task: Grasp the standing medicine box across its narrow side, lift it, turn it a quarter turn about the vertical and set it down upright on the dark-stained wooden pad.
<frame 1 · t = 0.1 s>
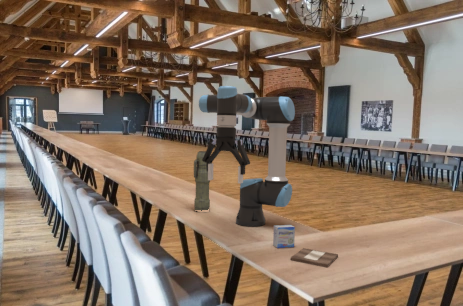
hand: (225, 181, 154), 28 cm above the table, fingers open, 13 cm apart
pad: (314, 258, 151), on the table
green robed figurine: (202, 211, 232), on the table
medicine box: (283, 246, 165), on the table
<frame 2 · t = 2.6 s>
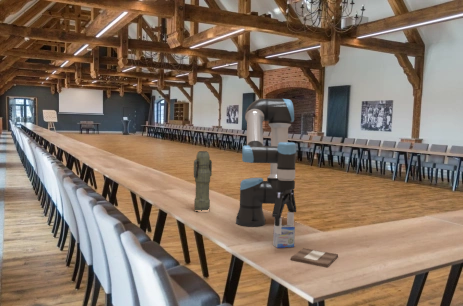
hand: (284, 230, 165), 7 cm above the table, fingers open, 13 cm apart
nothing on the table moved.
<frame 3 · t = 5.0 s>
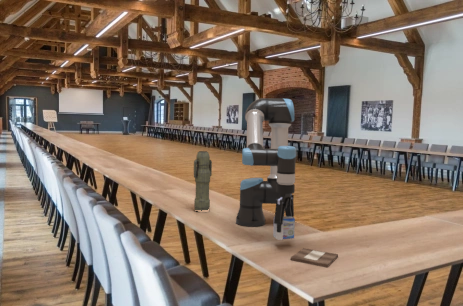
hand: (283, 236, 166), 4 cm above the table, fingers closed on medicine box, 8 cm apart
medicine box: (283, 238, 166), point 3 cm above the table, touching gripper
everything else where it was.
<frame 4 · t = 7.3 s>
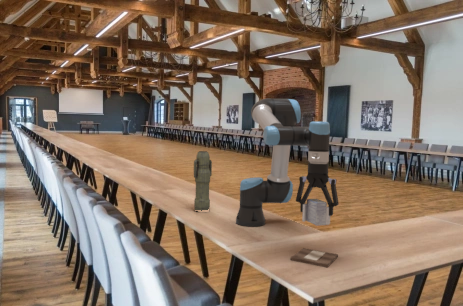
hand: (316, 222, 150), 14 cm above the table, fingers closed on medicine box, 8 cm apart
medicine box: (315, 223, 150), point 13 cm above the table, touching gripper
everything else where it was.
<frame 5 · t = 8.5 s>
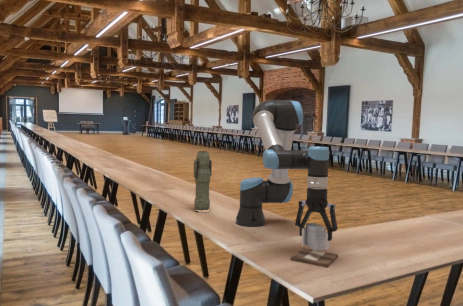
hand: (315, 246, 150), 5 cm above the table, fingers closed on medicine box, 8 cm apart
medicine box: (315, 248, 150), point 4 cm above the table, touching gripper
everything else where it was.
when the fingers open (3 cm above the table, at t = 9.6 s): medicine box drops 2 cm, resting on pad.
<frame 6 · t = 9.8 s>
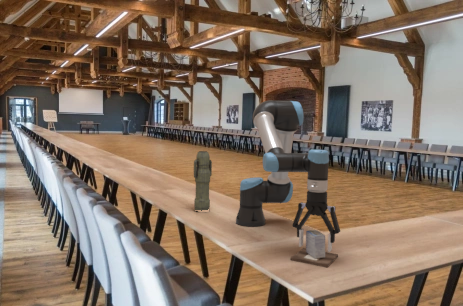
hand: (315, 248, 150), 4 cm above the table, fingers open, 10 cm apart
medicine box: (315, 255, 150), point 1 cm above the table, touching pad
everything else where it was.
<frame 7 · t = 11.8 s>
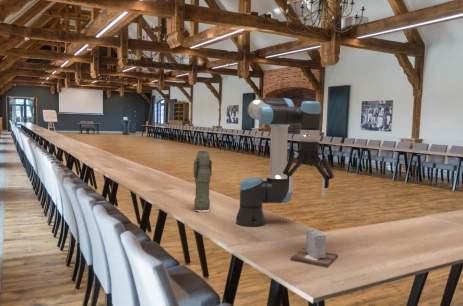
hand: (306, 194, 157), 23 cm above the table, fingers open, 13 cm apart
nothing on the table moved.
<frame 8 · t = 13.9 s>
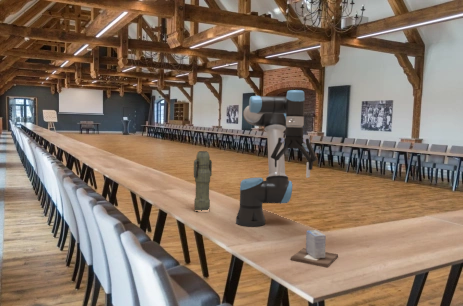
hand: (292, 176, 171), 29 cm above the table, fingers open, 13 cm apart
nothing on the table moved.
at the end: medicine box inside the target area on the pad (0.2 cm from its centre), point 1.1 cm above the pad's base; medicine box tilted 0°; the gripper is holding nothing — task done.
